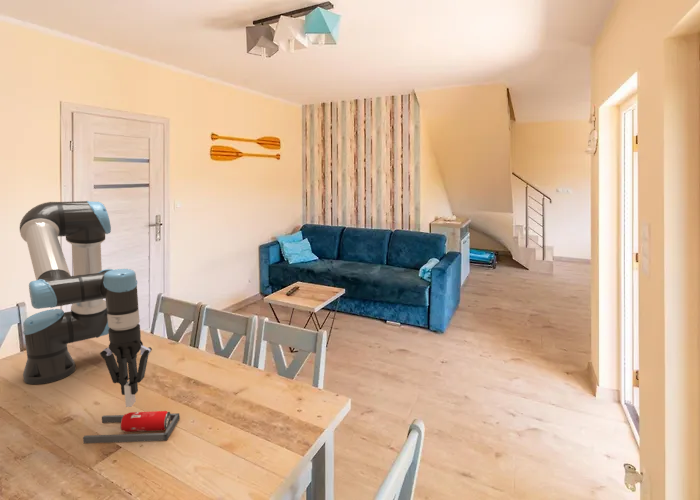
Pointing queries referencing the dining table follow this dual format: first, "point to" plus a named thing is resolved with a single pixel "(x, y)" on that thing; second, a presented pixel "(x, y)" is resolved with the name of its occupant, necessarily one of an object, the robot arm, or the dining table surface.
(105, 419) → the grey u-shaped frame
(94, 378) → the dining table surface
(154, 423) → the beverage can
